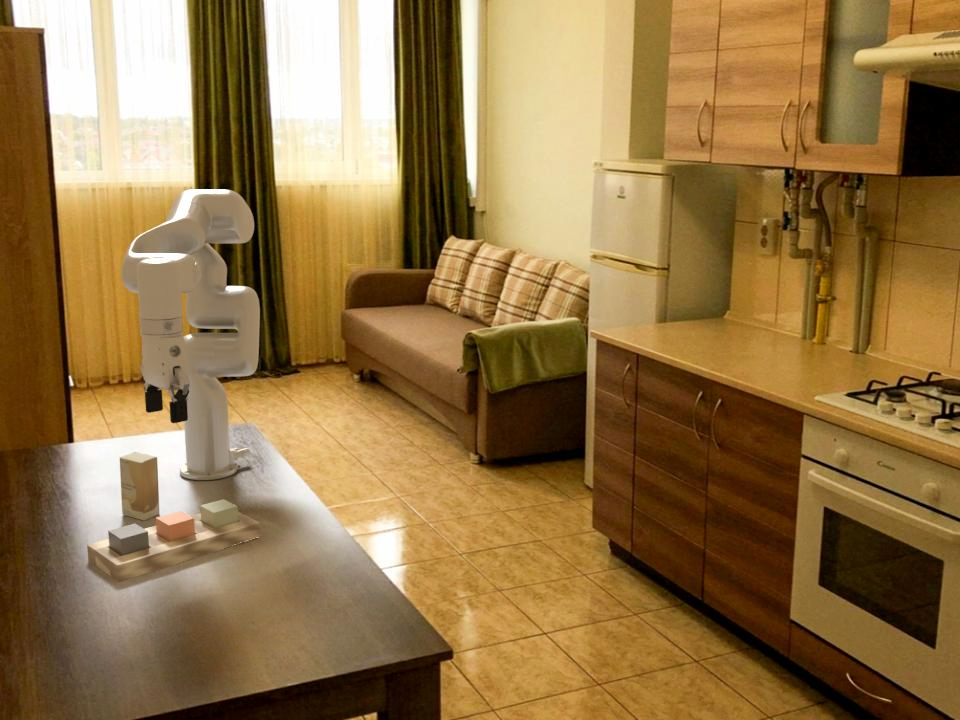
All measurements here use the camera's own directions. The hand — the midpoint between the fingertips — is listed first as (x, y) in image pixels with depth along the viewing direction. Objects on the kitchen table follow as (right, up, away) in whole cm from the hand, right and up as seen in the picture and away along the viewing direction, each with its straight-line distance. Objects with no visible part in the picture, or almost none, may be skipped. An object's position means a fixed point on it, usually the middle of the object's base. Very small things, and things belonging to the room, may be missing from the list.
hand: (166, 416), depth 191 cm
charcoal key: (-4, -23, -10) cm, 26 cm away
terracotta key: (+3, -22, -4) cm, 23 cm away
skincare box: (-9, -21, +13) cm, 26 cm away
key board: (+3, -24, -3) cm, 25 cm away
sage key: (+9, -21, +2) cm, 23 cm away
